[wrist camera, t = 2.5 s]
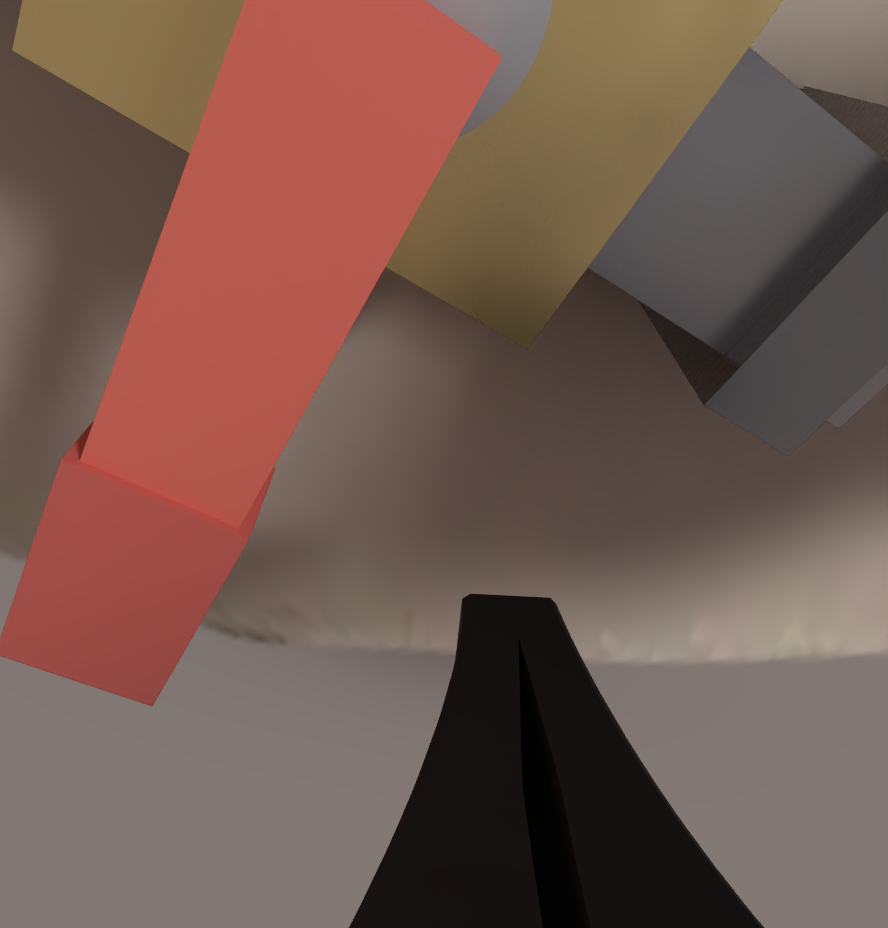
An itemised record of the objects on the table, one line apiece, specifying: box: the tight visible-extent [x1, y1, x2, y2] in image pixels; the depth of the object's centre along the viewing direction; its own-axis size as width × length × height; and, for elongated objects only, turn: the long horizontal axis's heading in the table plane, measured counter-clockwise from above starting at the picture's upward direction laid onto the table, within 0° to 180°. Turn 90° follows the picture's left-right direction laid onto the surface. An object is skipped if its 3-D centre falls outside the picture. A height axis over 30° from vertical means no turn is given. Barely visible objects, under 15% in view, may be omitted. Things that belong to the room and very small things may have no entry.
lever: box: [0, 0, 553, 706], centre depth 7 cm, size 10×2×2 cm, turn 149°
